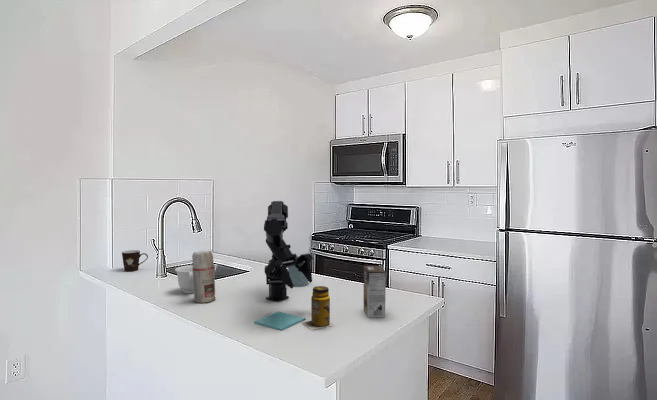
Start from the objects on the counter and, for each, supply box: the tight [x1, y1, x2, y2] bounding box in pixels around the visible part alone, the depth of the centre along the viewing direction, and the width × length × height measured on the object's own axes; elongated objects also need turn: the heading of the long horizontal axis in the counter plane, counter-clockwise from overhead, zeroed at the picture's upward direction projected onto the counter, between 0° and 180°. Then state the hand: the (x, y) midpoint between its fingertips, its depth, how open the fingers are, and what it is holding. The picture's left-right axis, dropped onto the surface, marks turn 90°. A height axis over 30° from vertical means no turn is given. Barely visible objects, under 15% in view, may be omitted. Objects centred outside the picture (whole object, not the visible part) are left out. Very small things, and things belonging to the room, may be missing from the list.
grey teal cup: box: [287, 255, 309, 288], centre depth 180 cm, size 10×10×12 cm
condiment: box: [301, 285, 336, 331], centre depth 129 cm, size 7×8×12 cm
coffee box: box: [362, 265, 387, 318], centre depth 140 cm, size 9×6×16 cm
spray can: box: [191, 249, 216, 304], centre depth 155 cm, size 8×8×20 cm
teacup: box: [174, 264, 194, 294], centre depth 166 cm, size 12×15×10 cm
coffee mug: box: [121, 249, 149, 273], centre depth 207 cm, size 12×9×10 cm
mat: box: [253, 311, 306, 332], centre depth 132 cm, size 12×12×1 cm
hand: (302, 284), depth 132 cm, fingers open, 9 cm apart
